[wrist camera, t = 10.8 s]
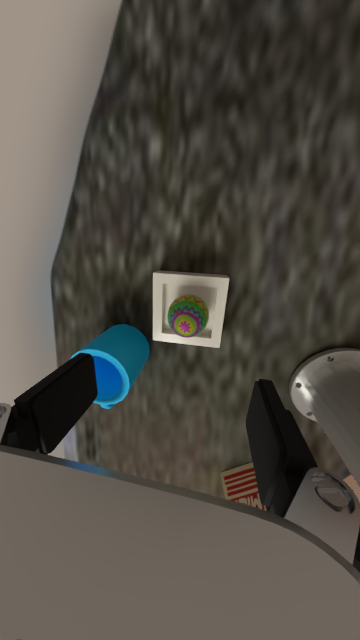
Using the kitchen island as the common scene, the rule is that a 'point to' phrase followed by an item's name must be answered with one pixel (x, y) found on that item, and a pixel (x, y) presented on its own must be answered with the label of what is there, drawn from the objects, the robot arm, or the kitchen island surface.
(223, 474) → the milk carton
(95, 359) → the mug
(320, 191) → the kitchen island surface
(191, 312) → the egg
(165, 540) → the robot arm
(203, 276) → the square tray
